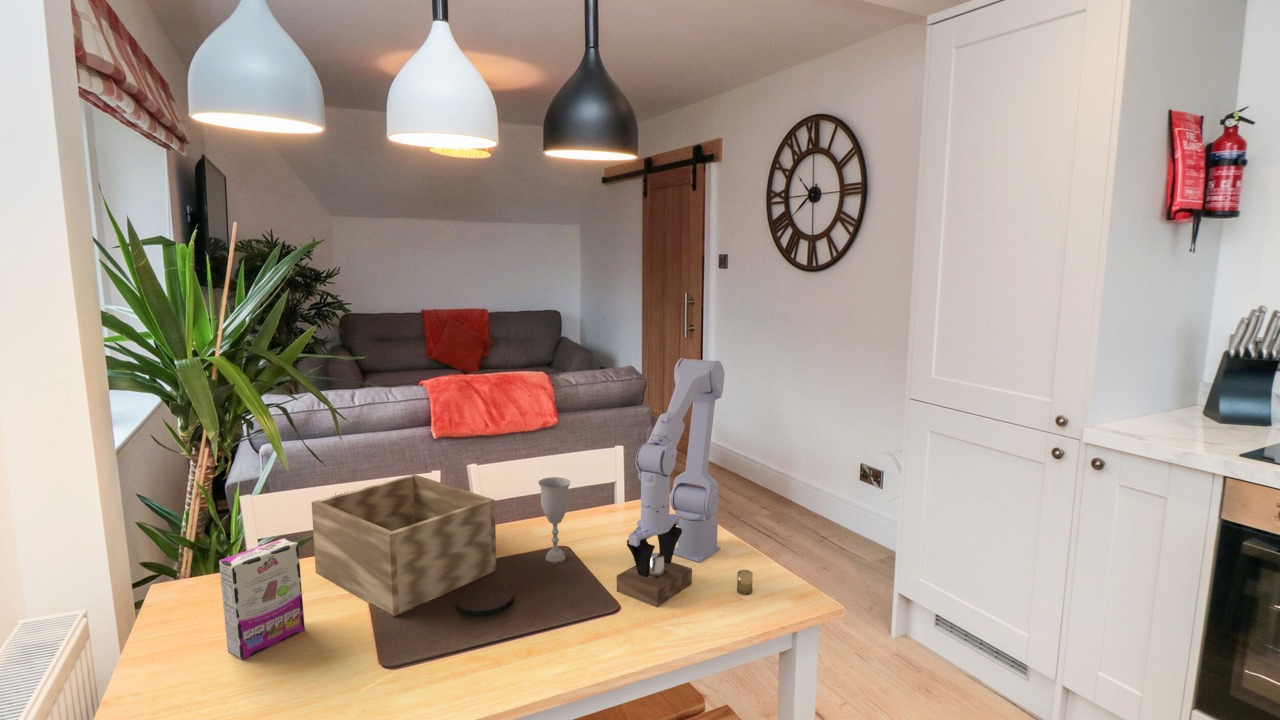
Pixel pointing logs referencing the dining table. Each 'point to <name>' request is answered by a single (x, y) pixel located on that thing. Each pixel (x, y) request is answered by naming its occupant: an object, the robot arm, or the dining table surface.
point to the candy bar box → (261, 597)
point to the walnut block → (654, 584)
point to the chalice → (554, 509)
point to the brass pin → (744, 582)
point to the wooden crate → (404, 541)
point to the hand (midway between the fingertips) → (654, 568)
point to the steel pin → (656, 565)
